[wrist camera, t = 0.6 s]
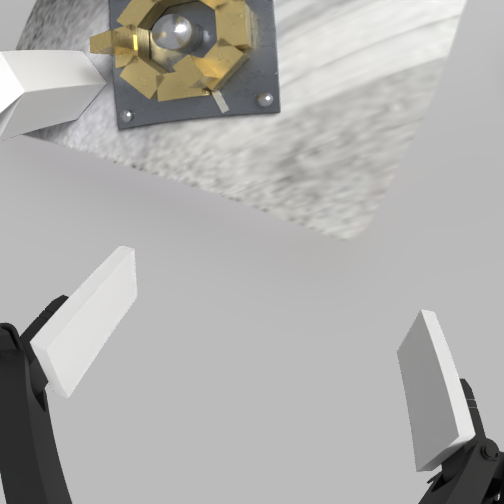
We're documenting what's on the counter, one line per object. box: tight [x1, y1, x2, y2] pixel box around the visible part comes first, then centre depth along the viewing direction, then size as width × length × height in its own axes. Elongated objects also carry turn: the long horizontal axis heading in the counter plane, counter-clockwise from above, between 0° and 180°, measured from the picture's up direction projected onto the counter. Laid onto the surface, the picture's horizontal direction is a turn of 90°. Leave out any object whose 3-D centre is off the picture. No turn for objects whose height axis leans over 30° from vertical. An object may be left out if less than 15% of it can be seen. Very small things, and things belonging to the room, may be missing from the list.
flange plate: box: [110, 0, 281, 129], centre depth 28 cm, size 20×20×6 cm
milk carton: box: [0, 50, 107, 141], centre depth 26 cm, size 7×7×19 cm
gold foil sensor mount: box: [90, 0, 252, 102], centre depth 26 cm, size 15×15×8 cm
